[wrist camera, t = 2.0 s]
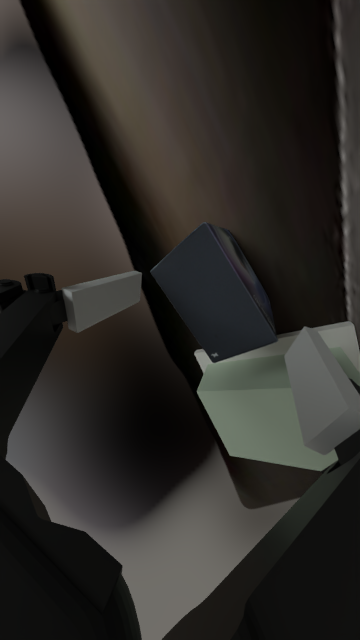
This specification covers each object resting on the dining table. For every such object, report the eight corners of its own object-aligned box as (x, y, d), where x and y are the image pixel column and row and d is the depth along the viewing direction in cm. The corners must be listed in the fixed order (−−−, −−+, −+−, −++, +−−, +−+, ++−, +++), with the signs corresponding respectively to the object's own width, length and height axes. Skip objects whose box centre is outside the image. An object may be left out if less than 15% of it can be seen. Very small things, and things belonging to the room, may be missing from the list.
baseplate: (196, 350, 29) (194, 353, 28) (349, 321, 19) (354, 324, 18) (232, 424, 33) (231, 429, 32) (374, 435, 23) (378, 442, 22)
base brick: (207, 364, 28) (196, 391, 23) (340, 346, 19) (368, 384, 14) (234, 420, 31) (230, 455, 26) (359, 428, 22) (388, 482, 17)
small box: (274, 300, 21) (284, 344, 12) (228, 321, 24) (211, 367, 16) (230, 225, 19) (206, 216, 11) (188, 259, 23) (145, 273, 14)
